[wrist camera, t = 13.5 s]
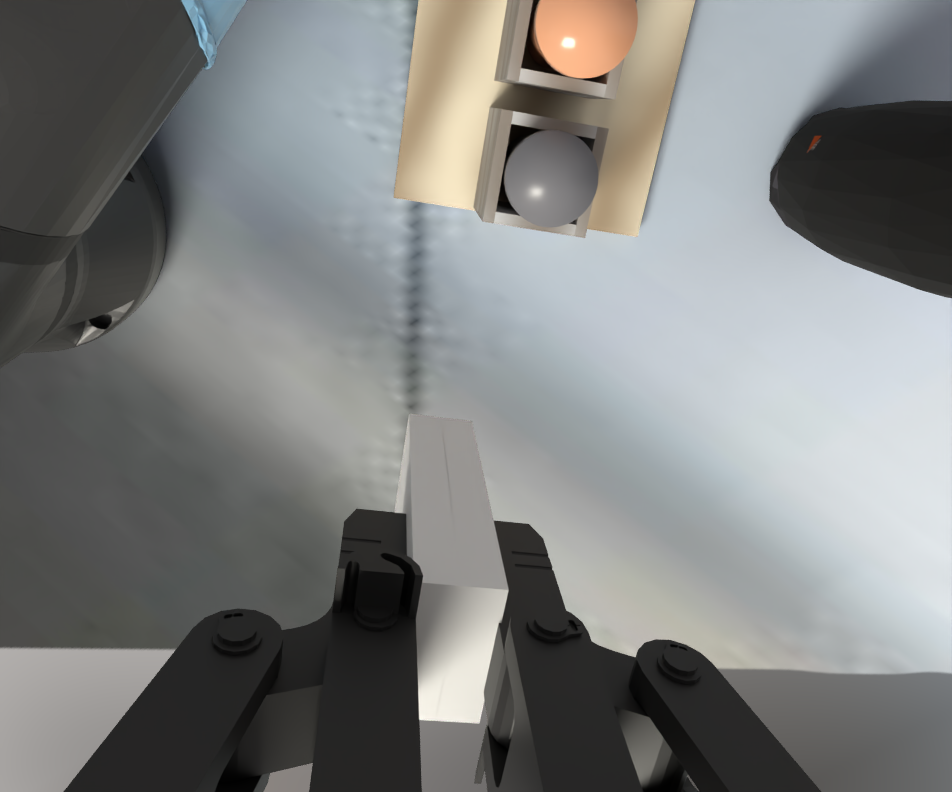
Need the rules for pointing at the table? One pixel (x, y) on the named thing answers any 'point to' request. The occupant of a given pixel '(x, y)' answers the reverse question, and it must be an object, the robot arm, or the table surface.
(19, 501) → the table surface
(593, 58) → the plunger terracotta
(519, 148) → the plunger charcoal
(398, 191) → the board
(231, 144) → the table surface
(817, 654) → the table surface
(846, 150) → the portable speaker
